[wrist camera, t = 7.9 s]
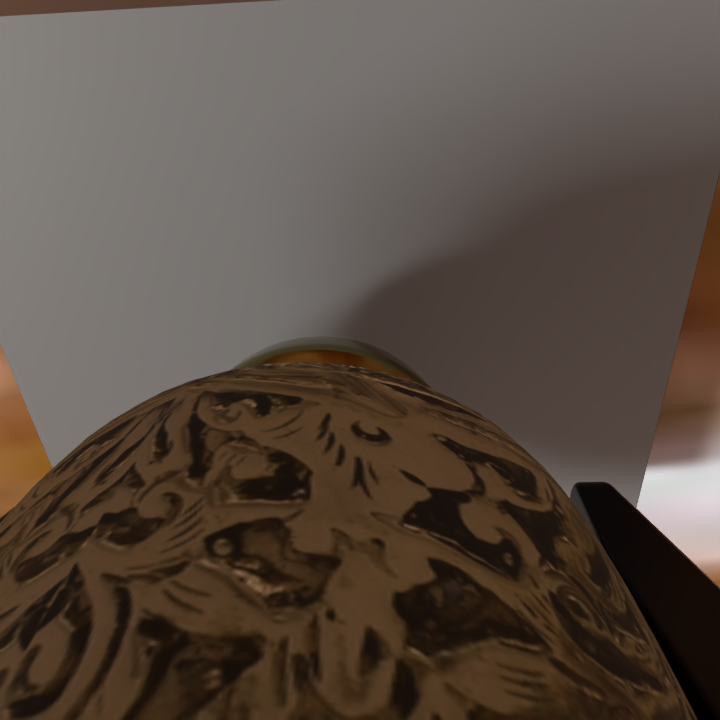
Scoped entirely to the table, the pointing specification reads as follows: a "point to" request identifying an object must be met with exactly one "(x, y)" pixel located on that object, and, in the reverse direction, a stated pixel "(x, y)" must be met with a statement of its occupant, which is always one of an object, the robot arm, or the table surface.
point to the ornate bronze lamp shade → (315, 563)
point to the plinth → (360, 202)
